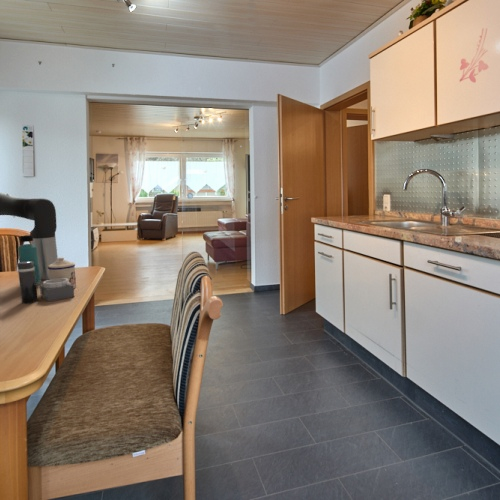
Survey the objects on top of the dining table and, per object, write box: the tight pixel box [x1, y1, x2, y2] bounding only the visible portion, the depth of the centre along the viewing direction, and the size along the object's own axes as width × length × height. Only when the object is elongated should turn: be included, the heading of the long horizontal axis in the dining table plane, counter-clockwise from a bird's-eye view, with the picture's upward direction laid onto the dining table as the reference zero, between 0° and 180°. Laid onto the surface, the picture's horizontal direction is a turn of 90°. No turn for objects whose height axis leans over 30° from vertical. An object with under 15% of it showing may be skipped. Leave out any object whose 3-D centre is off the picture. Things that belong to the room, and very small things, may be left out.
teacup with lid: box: [48, 257, 77, 289], centre depth 146 cm, size 12×9×12 cm
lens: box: [17, 261, 39, 304], centre depth 128 cm, size 5×5×13 cm
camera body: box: [39, 278, 75, 302], centre depth 134 cm, size 10×8×6 cm
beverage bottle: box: [17, 234, 42, 286], centre depth 146 cm, size 6×7×20 cm
